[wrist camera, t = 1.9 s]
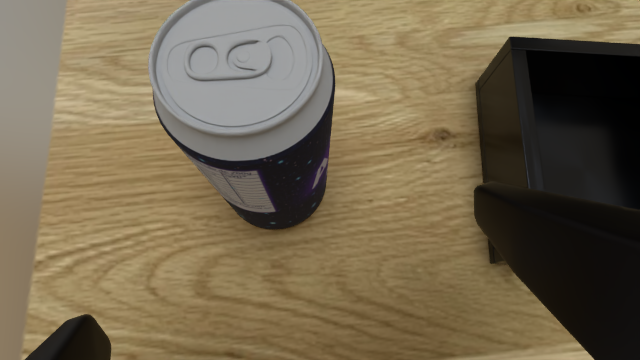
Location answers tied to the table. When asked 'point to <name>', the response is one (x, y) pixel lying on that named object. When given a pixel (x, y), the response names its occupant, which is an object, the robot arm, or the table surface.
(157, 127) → the table surface
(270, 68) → the beverage can
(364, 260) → the table surface
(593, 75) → the black open tray
